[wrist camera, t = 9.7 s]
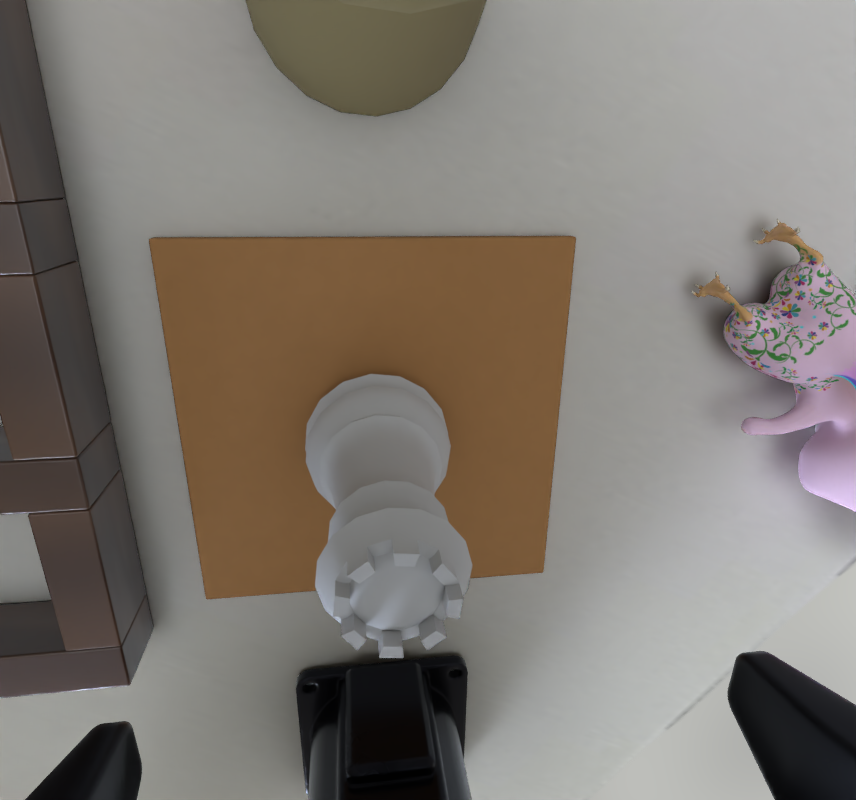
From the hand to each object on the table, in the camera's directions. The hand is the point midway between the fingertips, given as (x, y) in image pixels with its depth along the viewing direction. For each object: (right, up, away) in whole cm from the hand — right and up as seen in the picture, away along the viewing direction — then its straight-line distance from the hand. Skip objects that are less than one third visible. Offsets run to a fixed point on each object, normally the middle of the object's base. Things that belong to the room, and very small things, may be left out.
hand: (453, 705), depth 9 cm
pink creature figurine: (+14, +4, +13) cm, 19 cm away
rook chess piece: (-2, +3, +10) cm, 11 cm away
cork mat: (-2, +4, +10) cm, 11 cm away
